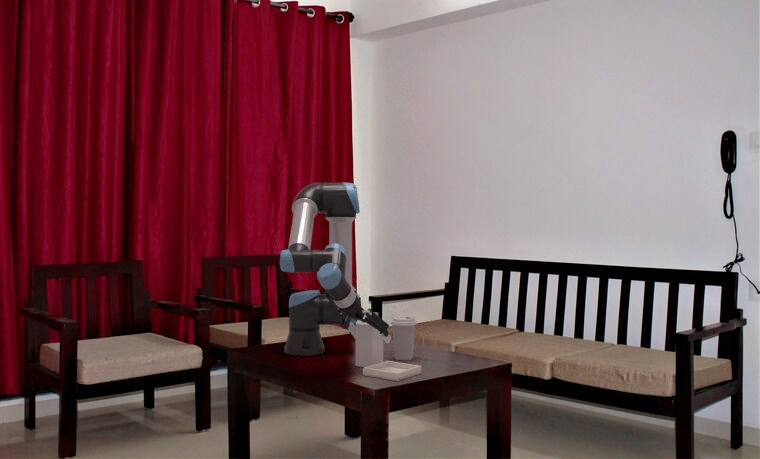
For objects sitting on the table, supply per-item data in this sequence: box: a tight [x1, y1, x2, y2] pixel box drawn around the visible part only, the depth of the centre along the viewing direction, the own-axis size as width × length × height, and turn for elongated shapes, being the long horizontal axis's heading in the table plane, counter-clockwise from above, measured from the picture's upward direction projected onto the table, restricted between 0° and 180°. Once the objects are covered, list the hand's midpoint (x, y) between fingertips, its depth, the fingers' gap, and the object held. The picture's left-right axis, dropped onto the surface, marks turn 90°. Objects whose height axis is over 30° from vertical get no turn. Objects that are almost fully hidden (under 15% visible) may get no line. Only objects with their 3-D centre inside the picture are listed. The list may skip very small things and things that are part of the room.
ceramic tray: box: [362, 360, 422, 382], centre depth 247 cm, size 14×14×2 cm
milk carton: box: [355, 311, 384, 368], centre depth 260 cm, size 7×7×19 cm
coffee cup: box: [390, 315, 418, 361], centre depth 272 cm, size 10×10×15 cm
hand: (373, 338), depth 262 cm, fingers open, 13 cm apart
